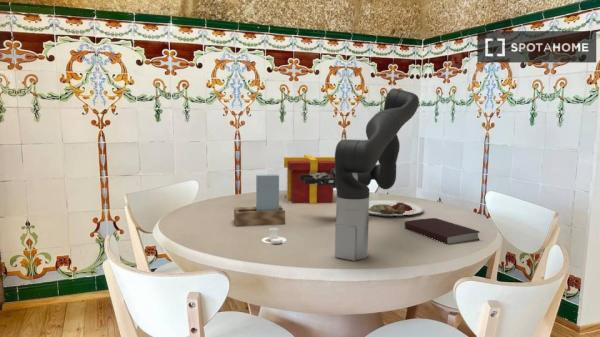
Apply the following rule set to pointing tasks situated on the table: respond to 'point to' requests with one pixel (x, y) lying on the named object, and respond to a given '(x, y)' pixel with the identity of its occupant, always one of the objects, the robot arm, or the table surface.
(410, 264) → the table surface
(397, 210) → the plated food
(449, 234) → the book
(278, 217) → the slot box
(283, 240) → the teacup and saucer
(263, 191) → the cover panel
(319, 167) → the gift box
